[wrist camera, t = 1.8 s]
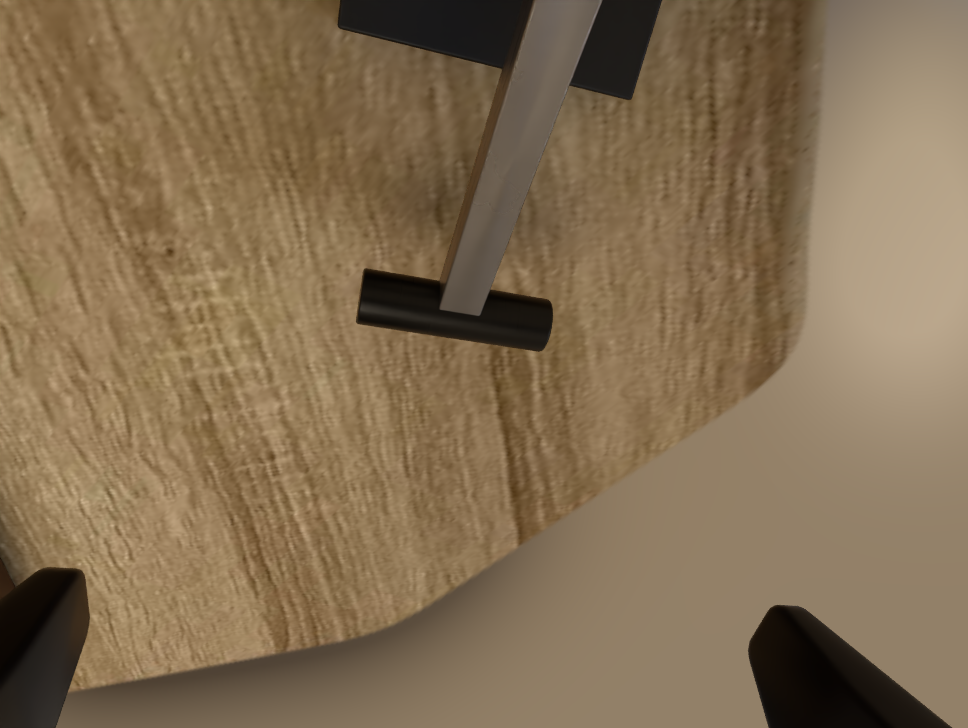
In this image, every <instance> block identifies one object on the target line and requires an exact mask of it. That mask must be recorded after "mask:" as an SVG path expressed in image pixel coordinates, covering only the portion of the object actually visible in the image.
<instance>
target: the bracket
mask: <svg viewBox="0 0 968 728" xmlns="http://www.w3.org/2000/svg"><path fill="white" fill-rule="evenodd" d="M522 1H523V0H340V8H339V16H338V27H339V28H340V29H343V30H347V31H351V32H355V33H359V34H363V35H367V36H371V37H375V38H380V39H384V40H388V41H392V42H396V43H400V44H404V45H408V46H412V47H416V48H420V49H424V50H428V51H432V52H436V53H440V54H444V55H448V56H452V57H456V58H460V59H464V60H468V61H472V62H477V63H481V64H485V65H489V66H493V67H497V68H501V69H503V65H504V62H505V58H506V55H507V52H508V48H509V45H510V42H511V38H512V35H513V31H514V28H515V25H516V21H517V18H518V15H519V11H520V8H521V5H522ZM661 2H662V0H602V3H601V5H600V8H599V10H598V13H597V15H596V18H595V21H594V23H593V26H592V28H591V31H590V33H589V36H588V39H587V41H586V44H585V46H584V49H583V51H582V54H581V57H580V59H579V62H578V64H577V67H576V70H575V72H574V75H573V77H572V80H571V82H570V86H574V87H578V88H582V89H586V90H590V91H594V92H598V93H602V94H606V95H610V96H614V97H618V98H622V99H626V100H631V98H632V96H633V93H634V90H635V86H636V83H637V80H638V77H639V73H640V70H641V67H642V64H643V60H644V57H645V54H646V51H647V47H648V44H649V41H650V37H651V34H652V31H653V28H654V24H655V21H656V18H657V15H658V11H659V8H660V5H661Z"/></svg>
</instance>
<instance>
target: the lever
mask: <svg viewBox="0 0 968 728" xmlns="http://www.w3.org/2000/svg"><path fill="white" fill-rule="evenodd" d="M601 3H602V0H523V1H522V5H521V8H520V11H519V15H518V18H517V21H516V25H515V28H514V31H513V35H512V38H511V42H510V45H509V48H508V52H507V55H506V58H505V62H504V65H503V69H502V72H501V75H500V79H499V82H498V85H497V89H496V92H495V95H494V99H493V102H492V106H491V109H490V112H489V116H488V119H487V122H486V126H485V129H484V132H483V136H482V139H481V143H480V146H479V149H478V153H477V156H476V159H475V163H474V166H473V170H472V173H471V176H470V180H469V183H468V186H467V190H466V193H465V196H464V200H463V203H462V207H461V210H460V213H459V217H458V220H457V223H456V227H455V230H454V233H453V237H452V240H451V244H450V247H449V250H448V254H447V257H446V260H445V264H444V267H443V271H442V274H441V277H440V281H437V280H431V279H425V278H420V277H414V276H408V275H402V274H396V273H390V272H385V271H379V270H373V269H367V268H366V269H364V271H363V276H362V282H361V289H360V295H359V302H358V310H357V317H356V323H357V324H361V325H368V326H374V327H381V328H387V329H394V330H400V331H407V332H413V333H420V334H427V335H433V336H440V337H446V338H453V339H459V340H466V341H472V342H479V343H485V344H492V345H499V346H505V347H512V348H518V349H525V350H531V351H538V352H539V351H542V350H543V349H544V348H545V346H546V344H547V342H548V340H549V337H550V333H551V329H552V322H553V309H552V304H551V302H550V301H549V300H547V299H542V298H536V297H531V296H525V295H519V294H513V293H507V292H501V291H496V290H490V288H491V286H492V283H493V281H494V278H495V276H496V273H497V270H498V268H499V265H500V263H501V260H502V258H503V255H504V252H505V250H506V247H507V245H508V242H509V239H510V237H511V234H512V232H513V229H514V227H515V224H516V221H517V219H518V216H519V214H520V211H521V209H522V206H523V203H524V201H525V198H526V196H527V193H528V191H529V188H530V185H531V183H532V180H533V178H534V175H535V173H536V170H537V167H538V165H539V162H540V160H541V157H542V155H543V152H544V149H545V147H546V144H547V142H548V139H549V136H550V134H551V131H552V129H553V126H554V124H555V121H556V118H557V116H558V113H559V111H560V108H561V106H562V103H563V100H564V98H565V95H566V93H567V90H568V88H569V85H570V82H571V80H572V77H573V75H574V72H575V70H576V67H577V64H578V62H579V59H580V57H581V54H582V51H583V49H584V46H585V44H586V41H587V39H588V36H589V33H590V31H591V28H592V26H593V23H594V21H595V18H596V15H597V13H598V10H599V8H600V5H601Z"/></svg>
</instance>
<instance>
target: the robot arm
mask: <svg viewBox="0 0 968 728" xmlns="http://www.w3.org/2000/svg"><path fill="white" fill-rule="evenodd" d="M89 620H90V614H89V606H88V597H87V588H86V580H85V575H84V573H83V572H82V571H81V570H79V569H75V568H56V567H47V568H43V569H41V570H39V571H37V572H35V573H34V574H33V575H31V576H30V577H29V578H27V579H26V580H25V581H23V582H22V583H21V584H20V585H18V586H17V587H16V588H14V589H13V590H12V591H10V592H9V593H8V594H7V595H5V596H4V597H3V598H1V599H0V728H55V727H56V725H57V722H58V719H59V716H60V713H61V710H62V707H63V704H64V701H65V698H66V695H67V693H68V690H69V687H70V684H71V681H72V678H73V675H74V672H75V669H76V666H77V663H78V660H79V657H80V654H81V651H82V648H83V645H84V643H85V640H86V636H87V633H88V628H89ZM748 652H749V659H750V664H751V667H752V671H753V674H754V678H755V681H756V685H757V688H758V692H759V695H760V699H761V702H762V706H763V709H764V713H765V716H766V720H767V723H768V727H769V728H952V727H950V726H949V725H948V724H947V723H946V722H944V721H943V720H942V719H940V718H939V717H938V716H937V715H936V714H934V713H933V712H932V711H931V710H929V709H928V708H927V707H926V706H925V705H923V704H922V703H921V702H920V701H918V700H917V699H916V698H915V697H913V696H912V695H911V694H910V693H908V692H907V691H906V690H905V689H903V688H902V687H901V686H900V685H898V684H897V683H896V682H895V681H894V680H892V679H891V678H890V677H889V676H887V675H886V674H885V673H884V672H882V671H881V670H880V669H879V668H877V667H876V666H875V665H874V664H872V663H871V662H870V661H869V660H868V659H866V658H865V657H864V656H863V655H861V654H860V653H859V652H858V651H856V650H855V649H854V648H853V647H852V646H850V645H849V644H848V643H847V642H845V641H844V640H843V639H842V638H840V637H839V636H838V635H837V634H835V633H834V632H833V631H832V630H830V629H829V628H828V627H827V626H826V625H824V624H823V623H822V622H821V621H819V620H818V619H817V618H816V617H814V616H813V615H812V614H811V613H809V612H808V611H807V610H806V609H804V608H802V607H799V606H788V605H775V606H773V607H771V608H770V609H769V610H768V612H767V613H766V615H765V617H764V618H763V620H762V622H761V623H760V625H759V627H758V628H757V630H756V632H755V633H754V635H753V636H752V638H751V640H750V643H749V648H748Z"/></svg>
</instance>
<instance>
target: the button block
mask: <svg viewBox="0 0 968 728" xmlns="http://www.w3.org/2000/svg"><path fill="white" fill-rule="evenodd" d="M14 588H15V586H14V584H13V582H12V580H11V578H10V576H9V574H8V572H7V570H6V568H5V566H4V564H3V562H2V560H1V558H0V599H1V598H3V597H4V596H5V595H7V594H8V593H9V592H10V591H12V590H13V589H14Z"/></svg>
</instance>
